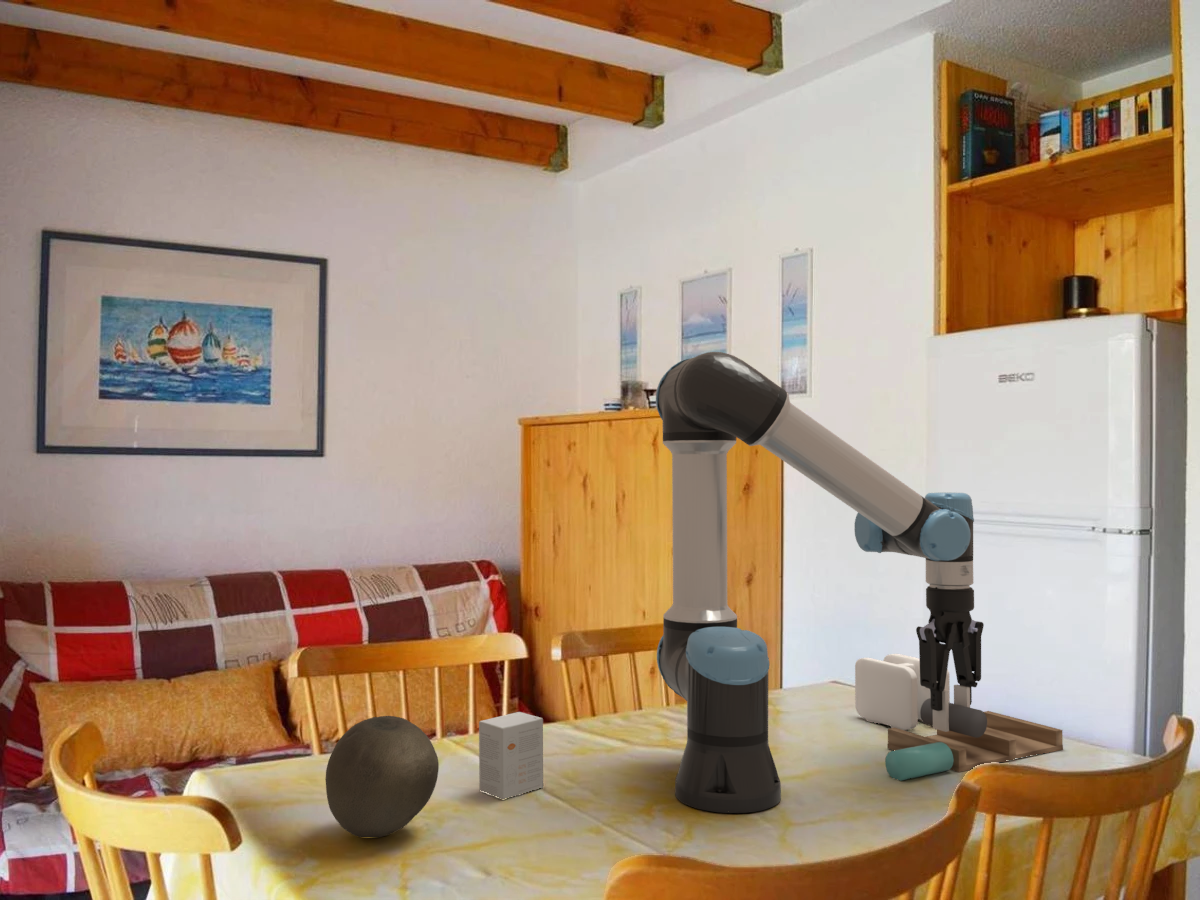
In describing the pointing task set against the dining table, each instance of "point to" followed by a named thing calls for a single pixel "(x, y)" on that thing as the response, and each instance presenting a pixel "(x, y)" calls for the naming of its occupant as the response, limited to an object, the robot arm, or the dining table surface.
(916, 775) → the teal rod
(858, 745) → the dining table surface
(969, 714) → the black rod
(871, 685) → the cable organizer
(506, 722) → the small box
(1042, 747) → the slot board
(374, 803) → the dark grey rounded lump
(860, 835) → the dining table surface
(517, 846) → the dining table surface
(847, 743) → the dining table surface
